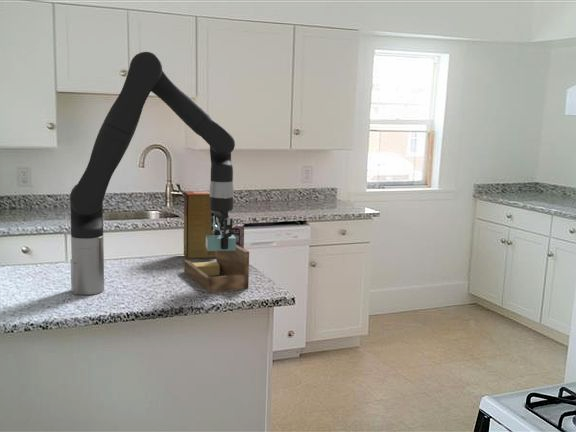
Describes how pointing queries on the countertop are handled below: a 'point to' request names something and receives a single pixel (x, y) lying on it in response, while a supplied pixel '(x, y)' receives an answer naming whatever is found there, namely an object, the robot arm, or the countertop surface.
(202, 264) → the ochre book block
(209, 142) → the robot arm
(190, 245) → the food packaging
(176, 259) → the countertop surface
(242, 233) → the supplement box
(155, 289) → the countertop surface
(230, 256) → the book rack
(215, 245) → the book block
